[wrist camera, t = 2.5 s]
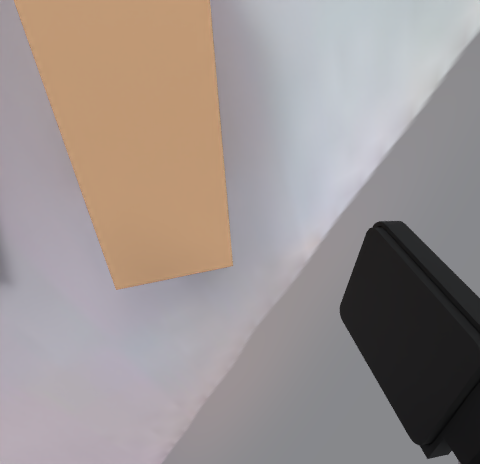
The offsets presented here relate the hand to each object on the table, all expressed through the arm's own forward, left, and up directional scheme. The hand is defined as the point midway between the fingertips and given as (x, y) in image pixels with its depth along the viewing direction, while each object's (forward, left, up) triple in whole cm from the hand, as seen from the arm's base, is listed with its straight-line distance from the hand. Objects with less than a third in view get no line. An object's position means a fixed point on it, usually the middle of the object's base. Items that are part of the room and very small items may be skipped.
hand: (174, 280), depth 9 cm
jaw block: (-1, 0, -13) cm, 13 cm away
